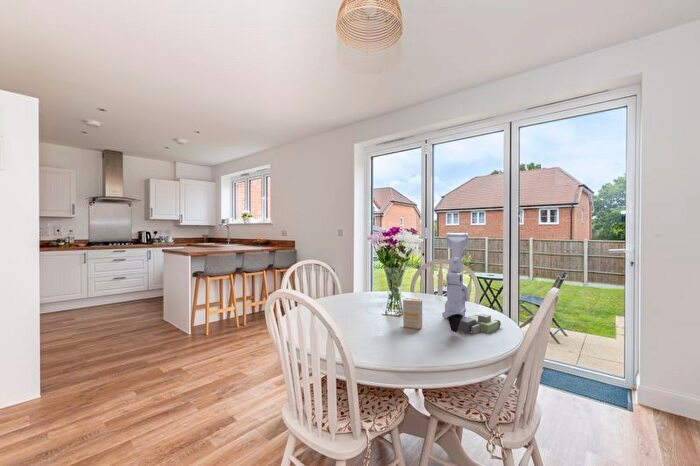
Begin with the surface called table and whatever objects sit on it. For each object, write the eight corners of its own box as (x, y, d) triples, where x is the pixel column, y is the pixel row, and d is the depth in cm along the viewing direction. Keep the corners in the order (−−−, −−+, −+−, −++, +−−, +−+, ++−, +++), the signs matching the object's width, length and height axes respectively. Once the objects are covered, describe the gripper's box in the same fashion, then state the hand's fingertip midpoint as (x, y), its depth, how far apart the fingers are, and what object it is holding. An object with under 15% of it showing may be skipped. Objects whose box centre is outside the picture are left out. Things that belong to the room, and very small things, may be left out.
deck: (455, 328, 142) (455, 315, 141) (475, 321, 152) (475, 309, 152) (480, 336, 132) (481, 322, 132) (501, 327, 143) (501, 315, 142)
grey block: (457, 330, 139) (457, 319, 139) (465, 327, 144) (465, 316, 143) (467, 333, 135) (467, 322, 135) (475, 330, 140) (475, 319, 139)
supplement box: (422, 326, 144) (422, 298, 144) (420, 330, 140) (420, 301, 140) (405, 324, 148) (405, 297, 148) (402, 327, 144) (402, 299, 143)
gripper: (452, 304, 125) (452, 337, 126) (472, 299, 134) (472, 330, 135) (438, 301, 131) (438, 332, 131) (457, 296, 140) (457, 325, 140)
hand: (454, 331), depth 133 cm, fingers closed
